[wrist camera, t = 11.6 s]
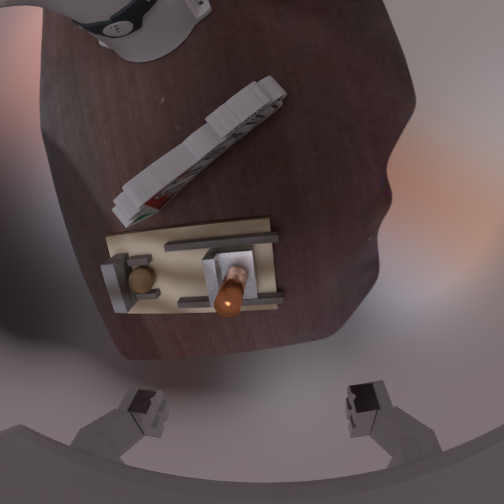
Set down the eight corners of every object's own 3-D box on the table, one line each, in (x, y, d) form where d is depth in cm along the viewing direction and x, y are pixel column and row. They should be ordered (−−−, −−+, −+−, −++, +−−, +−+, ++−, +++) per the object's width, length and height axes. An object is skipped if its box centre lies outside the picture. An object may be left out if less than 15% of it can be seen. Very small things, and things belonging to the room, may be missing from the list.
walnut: (132, 264, 43) (121, 274, 39) (154, 262, 42) (144, 272, 39) (138, 287, 44) (128, 298, 40) (160, 286, 44) (150, 297, 40)
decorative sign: (267, 96, 36) (275, 58, 22) (279, 110, 37) (294, 78, 23) (146, 199, 41) (96, 215, 26) (157, 213, 41) (112, 235, 27)
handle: (209, 248, 41) (188, 279, 31) (253, 245, 40) (245, 275, 30) (216, 293, 43) (200, 332, 33) (258, 290, 42) (253, 331, 32)
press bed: (109, 234, 43) (88, 246, 37) (276, 215, 40) (276, 226, 34) (130, 309, 47) (114, 328, 42) (284, 304, 44) (284, 326, 38)
